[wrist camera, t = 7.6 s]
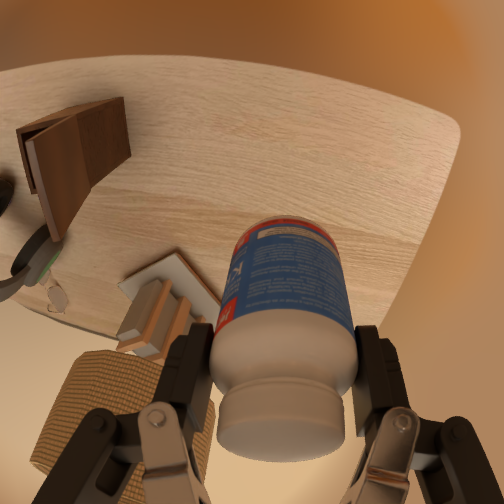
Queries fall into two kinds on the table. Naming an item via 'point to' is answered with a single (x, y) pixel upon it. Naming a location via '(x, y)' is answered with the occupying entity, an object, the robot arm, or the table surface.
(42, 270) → the headphones
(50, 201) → the lid
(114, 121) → the chest
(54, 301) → the eyeglasses
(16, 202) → the table surface
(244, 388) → the pill bottle
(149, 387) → the desk lamp
